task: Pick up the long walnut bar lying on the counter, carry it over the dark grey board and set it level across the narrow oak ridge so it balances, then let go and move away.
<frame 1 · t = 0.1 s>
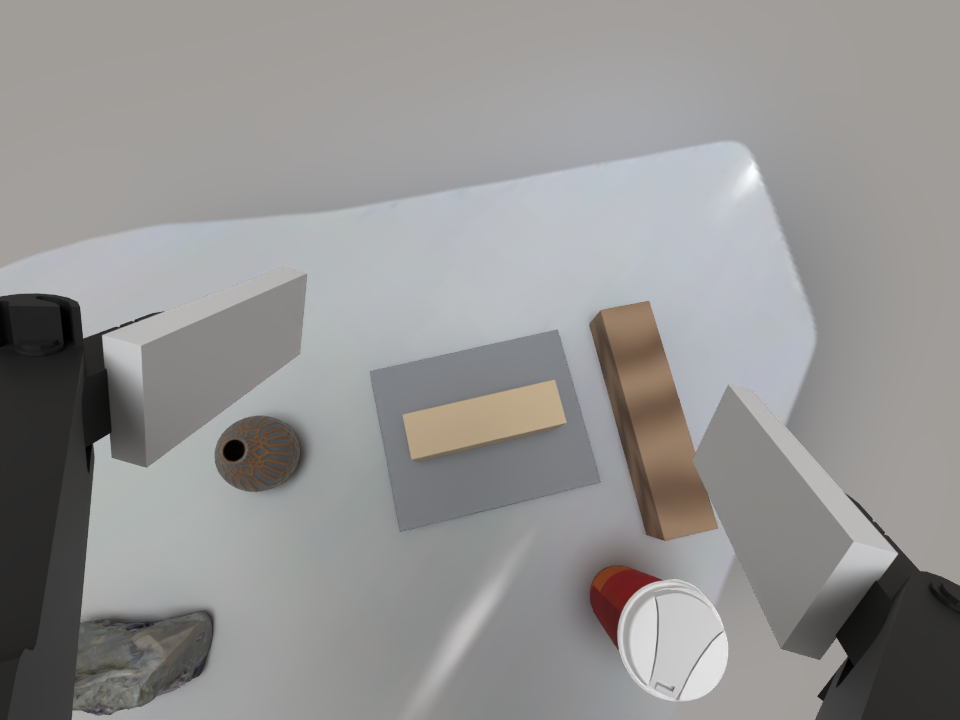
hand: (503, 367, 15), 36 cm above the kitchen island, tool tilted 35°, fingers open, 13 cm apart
vase: (274, 455, 50), on the kitchen island
mineral rock: (143, 639, 46), on the kitchen island
paper cup: (618, 595, 47), on the kitchen island
walnut bar: (638, 419, 51), on the kitchen island
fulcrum: (482, 426, 50), on the kitchen island
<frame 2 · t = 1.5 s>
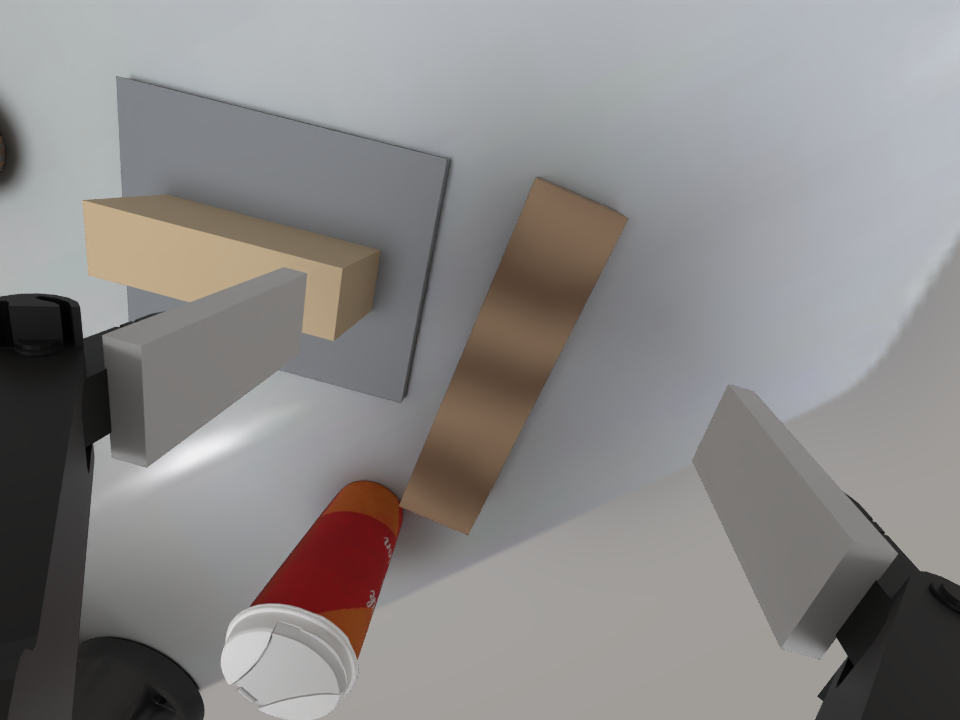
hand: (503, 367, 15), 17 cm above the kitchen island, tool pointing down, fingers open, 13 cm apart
paper cup: (370, 507, 39), on the kitchen island
walnut bar: (504, 353, 33), on the kitchen island
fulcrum: (278, 251, 32), on the kitchen island
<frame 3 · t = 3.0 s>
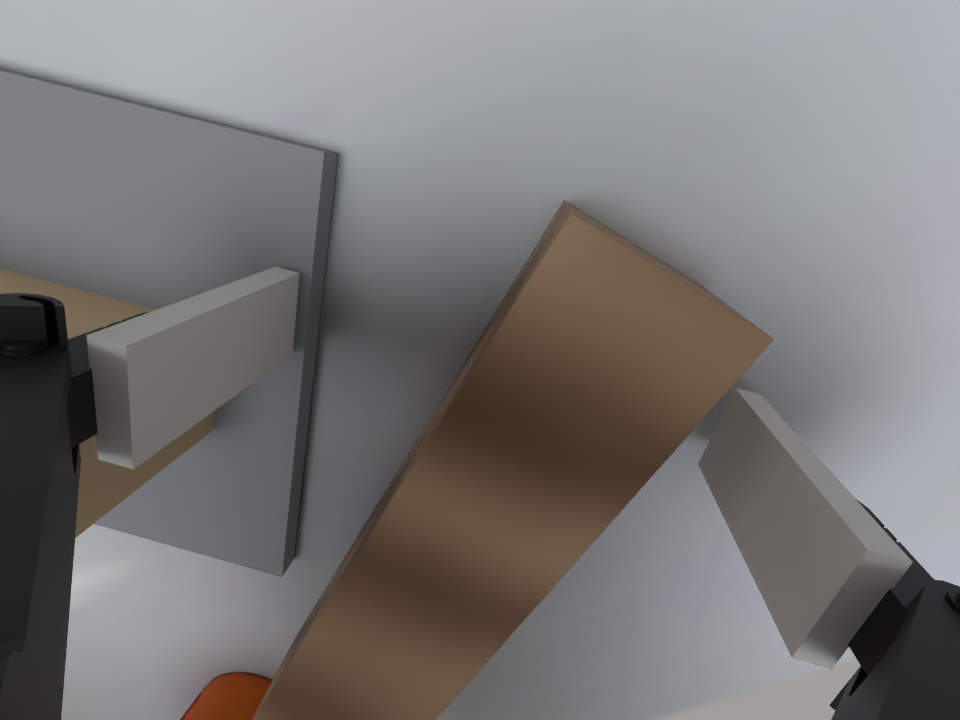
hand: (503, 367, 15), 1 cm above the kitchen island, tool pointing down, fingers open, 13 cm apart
paper cup: (258, 707, 25), on the kitchen island
walnut bar: (458, 496, 19), on the kitchen island
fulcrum: (48, 319, 18), on the kitchen island
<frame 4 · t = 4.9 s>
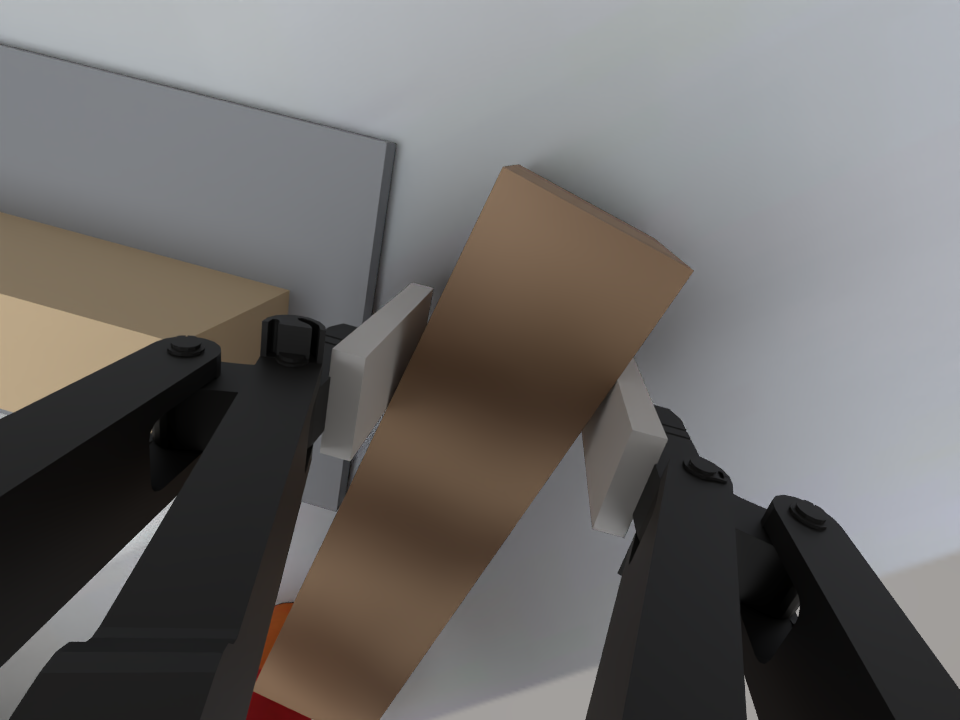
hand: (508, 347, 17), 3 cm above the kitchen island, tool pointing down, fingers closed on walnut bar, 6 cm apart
paper cup: (308, 635, 28), on the kitchen island
walnut bar: (445, 451, 20), point 1 cm above the kitchen island, touching gripper
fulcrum: (143, 287, 21), on the kitchen island
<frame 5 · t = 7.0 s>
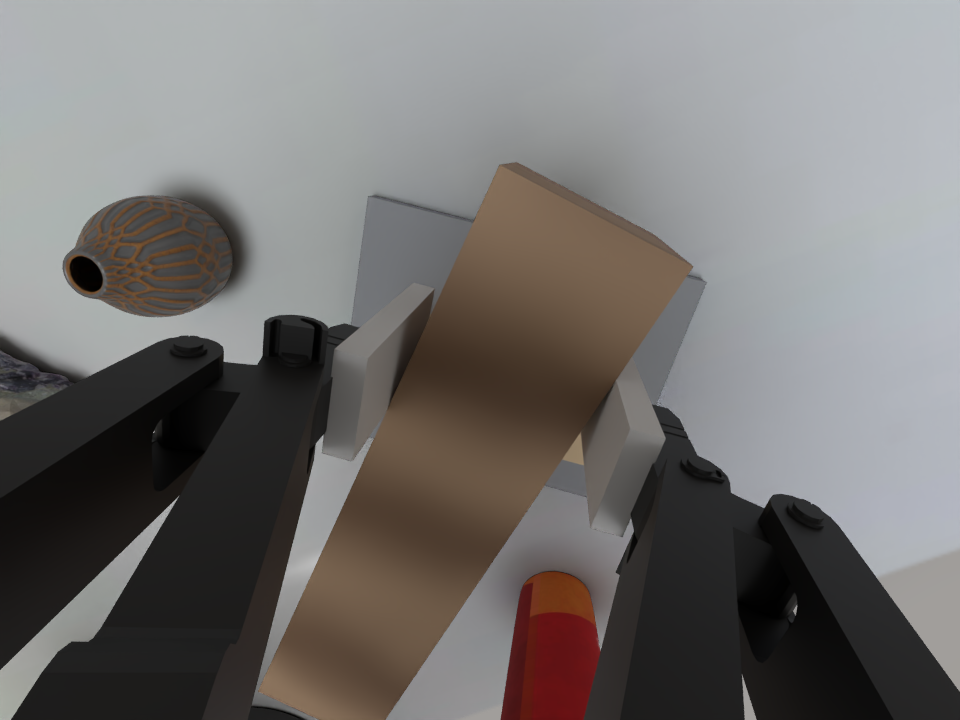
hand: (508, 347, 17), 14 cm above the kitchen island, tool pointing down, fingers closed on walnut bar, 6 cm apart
vase: (203, 247, 33), on the kitchen island
mineral rock: (37, 374, 38), on the kitchen island
paper cup: (555, 596, 39), on the kitchen island
walnut bar: (447, 451, 20), point 13 cm above the kitchen island, touching gripper
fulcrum: (502, 357, 32), on the kitchen island
when the fingers open (7 cm above the kitchen island, at t = 9.0 s): walnut bar stays where it is, resting on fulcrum.
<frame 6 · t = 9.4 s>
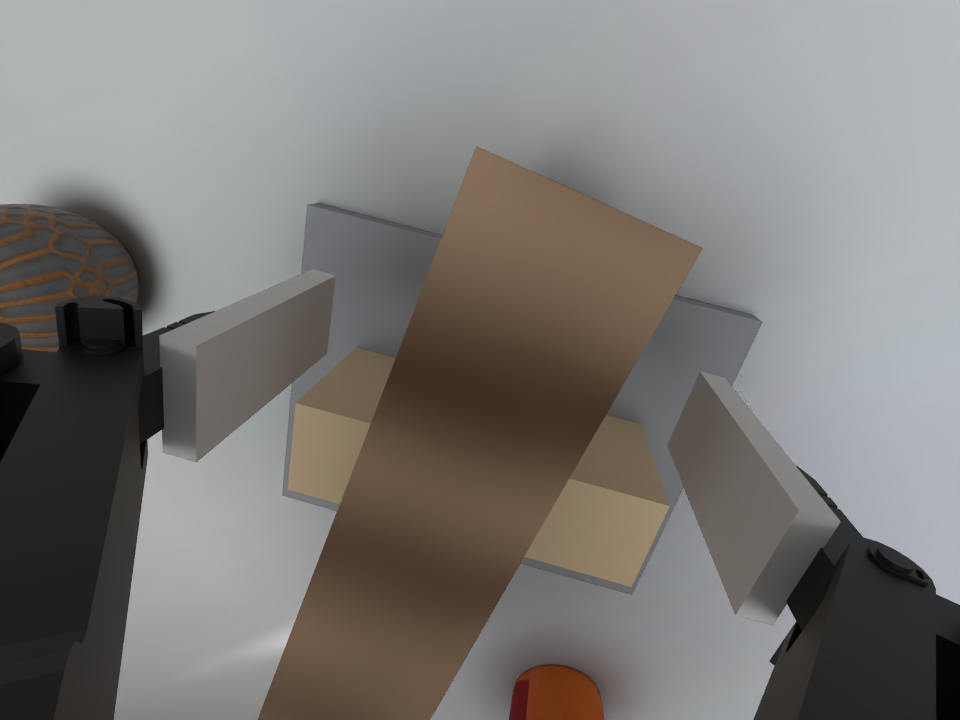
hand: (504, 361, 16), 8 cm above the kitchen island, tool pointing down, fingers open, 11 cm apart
vase: (105, 269, 25), on the kitchen island
paper cup: (557, 691, 32), on the kitchen island
walnut bar: (442, 482, 18), point 7 cm above the kitchen island, touching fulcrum
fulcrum: (489, 411, 25), on the kitchen island
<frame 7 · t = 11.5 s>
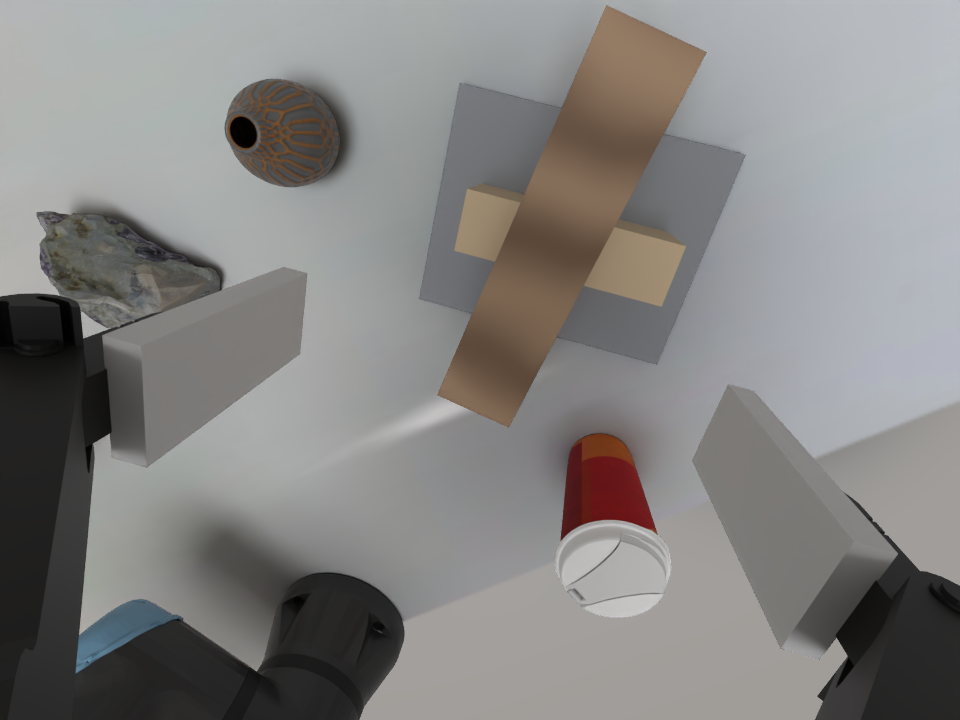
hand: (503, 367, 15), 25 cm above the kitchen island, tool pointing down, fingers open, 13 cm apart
vase: (310, 136, 38), on the kitchen island
mineral rock: (158, 256, 45), on the kitchen island
paper cup: (600, 458, 45), on the kitchen island
walnut bar: (551, 237, 31), point 7 cm above the kitchen island, touching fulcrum
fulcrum: (565, 232, 38), on the kitchen island
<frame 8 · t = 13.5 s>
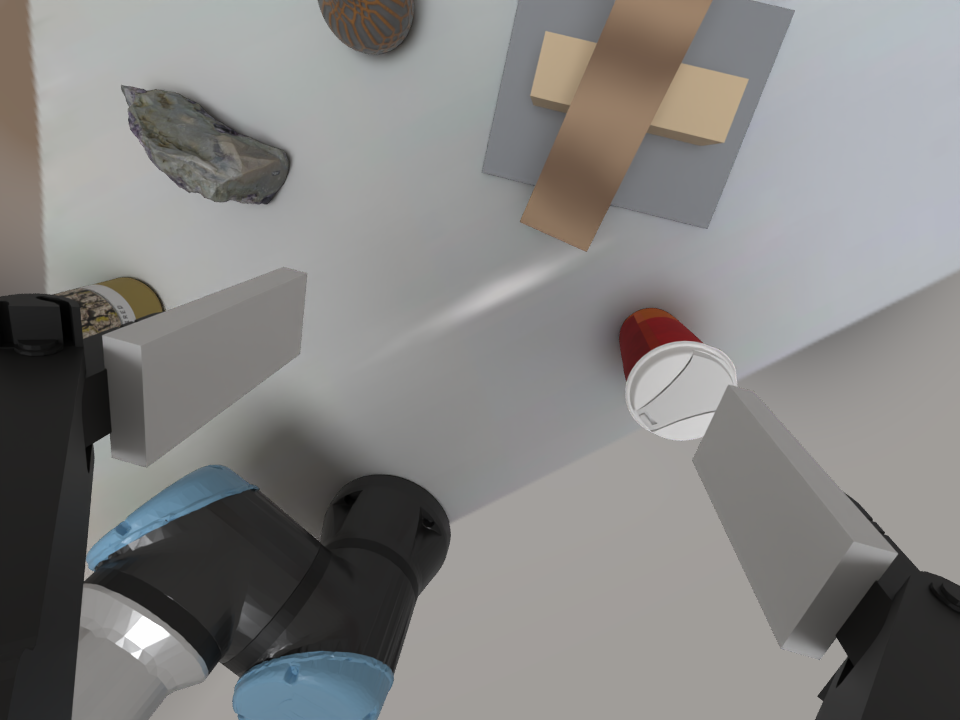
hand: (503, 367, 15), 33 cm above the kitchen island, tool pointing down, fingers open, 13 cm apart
paper tube: (139, 306, 54), on the kitchen island
vase: (382, 14, 41), on the kitchen island
mineral rock: (227, 143, 47), on the kitchen island
paper cup: (649, 334, 47), on the kitchen island
walnut bar: (623, 77, 34), point 7 cm above the kitchen island, touching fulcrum
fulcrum: (623, 100, 41), on the kitchen island
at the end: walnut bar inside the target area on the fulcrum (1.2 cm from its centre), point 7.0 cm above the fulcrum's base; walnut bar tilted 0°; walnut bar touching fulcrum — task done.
